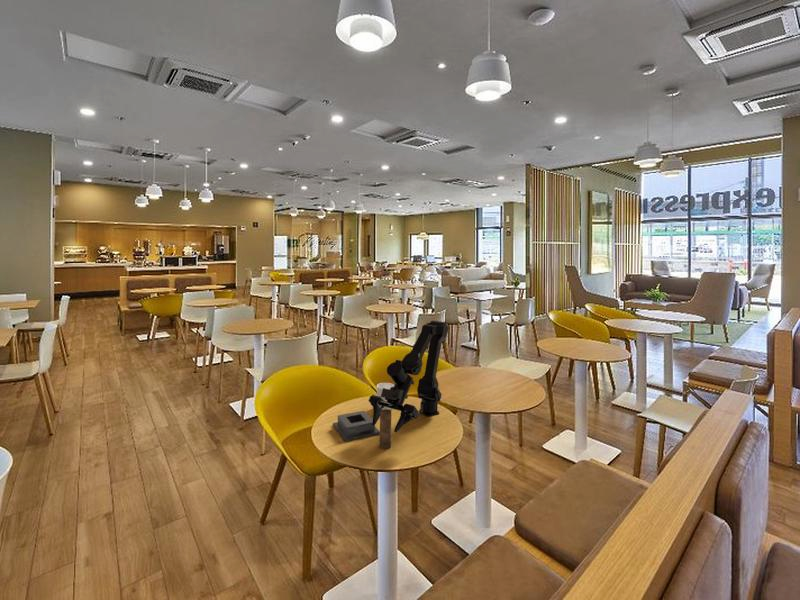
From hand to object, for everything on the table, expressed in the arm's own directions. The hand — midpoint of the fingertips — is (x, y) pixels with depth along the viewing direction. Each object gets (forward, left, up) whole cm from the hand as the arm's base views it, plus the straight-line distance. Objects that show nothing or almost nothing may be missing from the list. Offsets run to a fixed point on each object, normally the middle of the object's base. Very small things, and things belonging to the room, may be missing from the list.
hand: (383, 428), depth 145 cm
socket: (+4, -17, -7) cm, 18 cm away
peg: (-1, -1, -7) cm, 7 cm away
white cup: (-15, -31, -7) cm, 35 cm away
